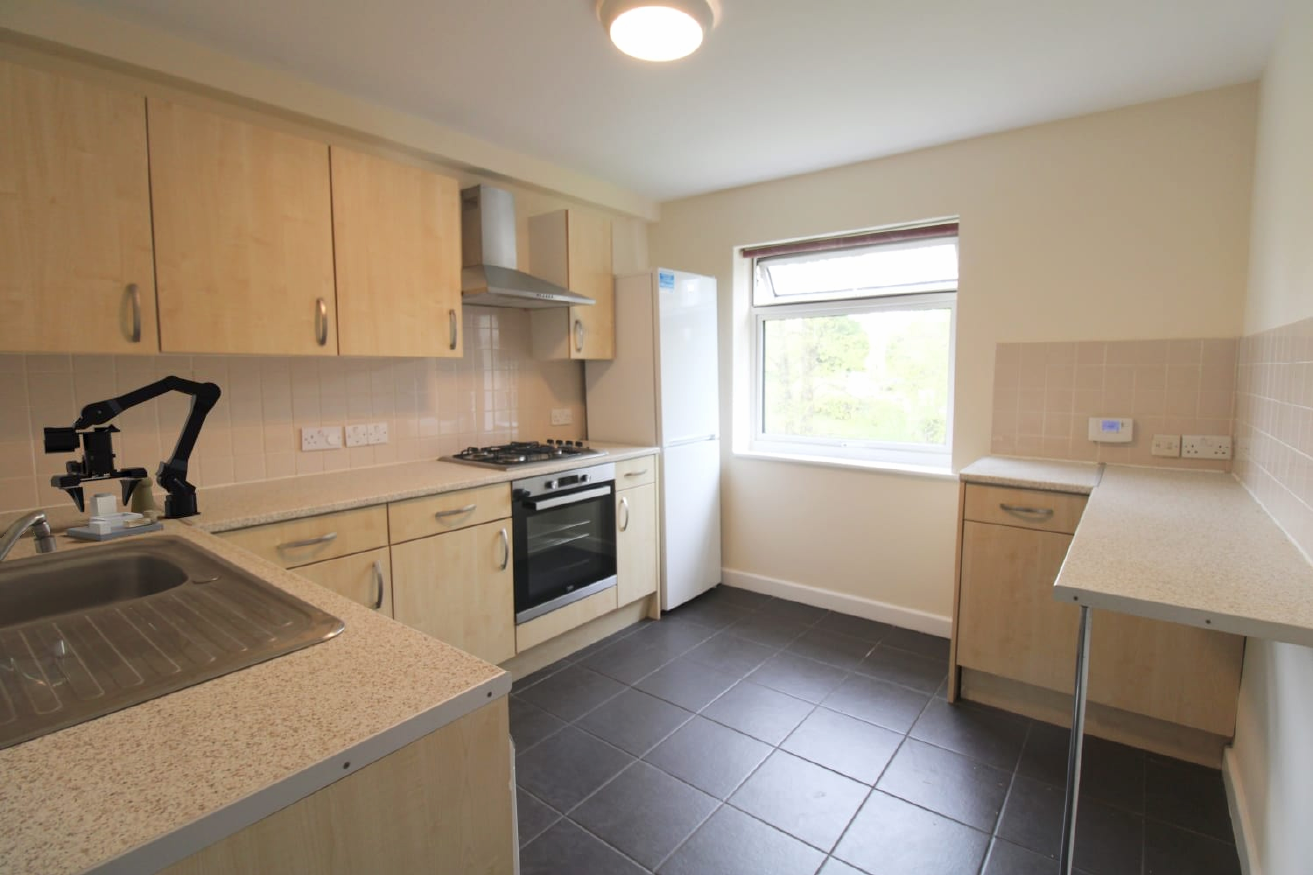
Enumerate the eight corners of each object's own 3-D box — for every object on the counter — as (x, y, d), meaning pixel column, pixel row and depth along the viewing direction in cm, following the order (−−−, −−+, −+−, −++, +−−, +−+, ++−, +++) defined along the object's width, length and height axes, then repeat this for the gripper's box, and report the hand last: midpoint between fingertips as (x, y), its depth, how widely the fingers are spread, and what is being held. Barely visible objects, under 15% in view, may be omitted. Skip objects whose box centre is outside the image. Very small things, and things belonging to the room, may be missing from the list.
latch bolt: (151, 521, 162) (150, 510, 162) (157, 522, 161) (156, 510, 161) (123, 526, 157) (122, 514, 157) (129, 527, 156) (128, 515, 155)
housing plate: (128, 524, 169) (127, 509, 168) (163, 529, 161) (162, 514, 161) (66, 534, 157) (65, 519, 157) (101, 541, 149) (99, 524, 149)
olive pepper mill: (148, 511, 187) (144, 475, 186) (162, 512, 185) (159, 475, 184) (125, 515, 181) (122, 478, 180) (140, 516, 179) (136, 478, 178)
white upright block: (110, 523, 170) (107, 492, 169) (118, 525, 168) (115, 493, 167) (92, 526, 166) (89, 494, 166) (99, 528, 164) (96, 495, 164)
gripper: (124, 446, 177) (129, 501, 179) (37, 453, 161) (43, 513, 162) (146, 447, 173) (151, 503, 174) (58, 454, 156) (64, 516, 157)
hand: (104, 509), depth 167 cm, fingers open, 9 cm apart
